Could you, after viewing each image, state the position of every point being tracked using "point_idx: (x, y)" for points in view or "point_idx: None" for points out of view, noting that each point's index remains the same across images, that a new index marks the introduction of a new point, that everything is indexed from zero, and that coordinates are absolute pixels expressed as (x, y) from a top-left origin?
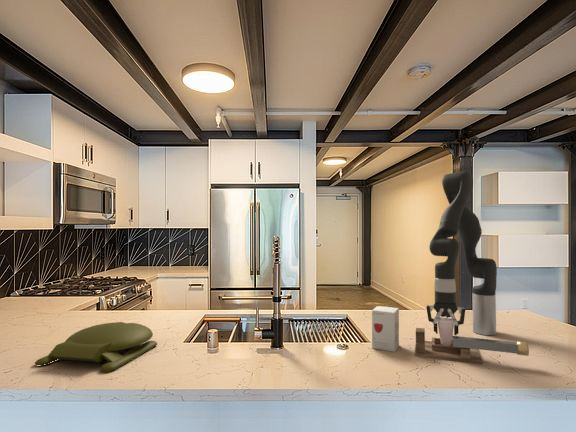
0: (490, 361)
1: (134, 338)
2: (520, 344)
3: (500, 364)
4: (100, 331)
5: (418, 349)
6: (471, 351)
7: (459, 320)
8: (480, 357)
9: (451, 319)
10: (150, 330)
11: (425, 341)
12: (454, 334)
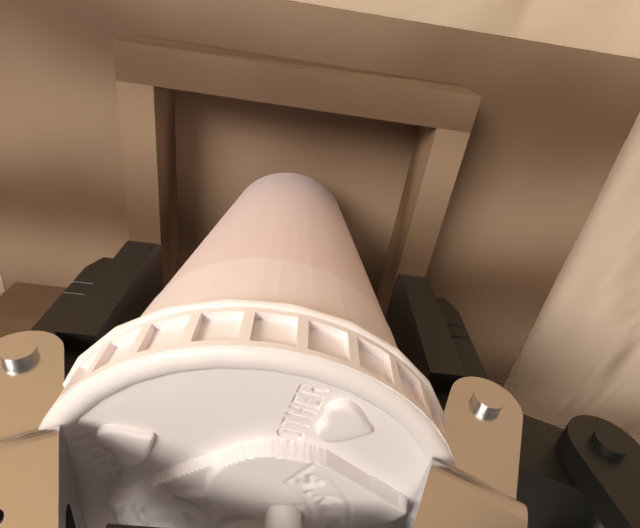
0: (565, 358)
1: None
2: None
3: (600, 391)
4: None
5: None
6: (506, 258)
7: (559, 492)
8: (509, 371)
9: (380, 516)
10: None
11: (53, 4)
12: (386, 321)
